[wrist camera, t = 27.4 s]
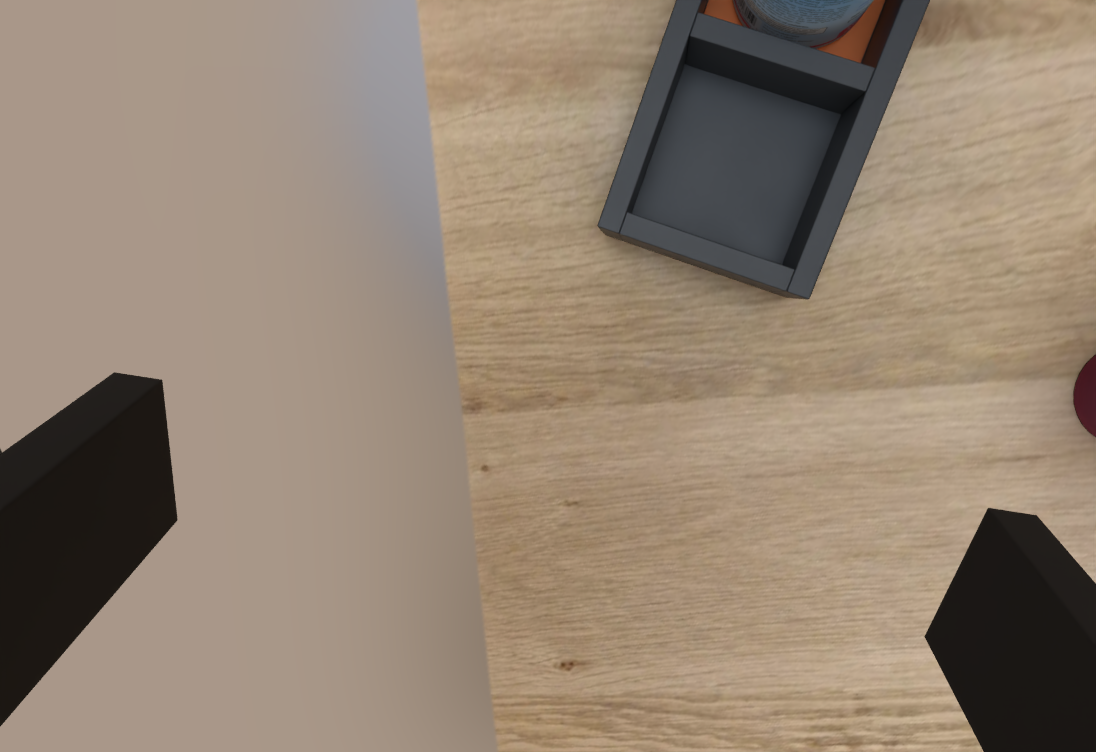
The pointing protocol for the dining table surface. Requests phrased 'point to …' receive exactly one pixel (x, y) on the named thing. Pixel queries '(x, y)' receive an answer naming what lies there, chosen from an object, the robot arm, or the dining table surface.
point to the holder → (754, 142)
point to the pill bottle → (802, 18)
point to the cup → (1087, 396)
